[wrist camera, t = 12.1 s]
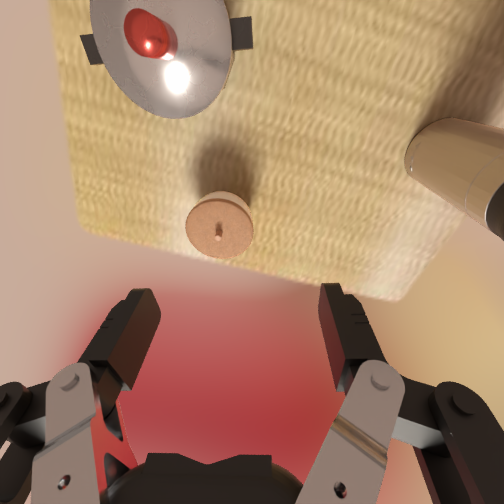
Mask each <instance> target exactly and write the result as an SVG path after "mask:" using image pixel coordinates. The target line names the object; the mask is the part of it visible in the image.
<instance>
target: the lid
mask: <svg viewBox="0 0 504 504" xmlns="http://www.w3.org/2000/svg"><path fill="white" fill-rule="evenodd" d="M90 17H91V25H92V30H93V35H94V39H95V42H96V46H97V48H98V51H99V54H100V56H101V59H102V61H103V63H104V65H105V67H106V69H107V70H108V72H109V74H110V75H111V77H112V78H113V80H114V81H115V83H116V84H117V85H118V87H119V88H120V89H121V90H122V91H123V92H124V94H125V95H126V96H128V97H129V98H130V99H131V100H132V101H133V102H134V103H136V104H137V105H138V106H140V107H141V108H143V109H144V110H146V111H148V112H150V113H152V114H155V115H157V116H161V117H164V118H170V119H181V118H187V117H190V116H194V115H196V114H198V113H200V112H201V111H203V110H204V109H206V108H207V107H208V106H209V105H211V104H212V103H213V102H214V100H215V99H216V98H217V97H218V95H219V94H220V92H221V90H222V89H223V87H224V84H225V82H226V80H227V77H228V73H229V70H230V64H231V58H232V34H231V26H230V21H229V16H228V12H227V9H226V6H225V3H224V0H90Z"/></svg>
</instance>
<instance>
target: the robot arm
mask: <svg viewBox="0 0 504 504" xmlns="http://www.w3.org/2000/svg"><path fill="white" fill-rule="evenodd" d="M405 168H406V171H407V173H408V174H409V175H410V176H411V177H412V178H414V179H415V180H416V181H418V182H419V183H421V184H422V185H424V186H425V187H426V188H428V189H429V190H431V191H432V192H434V193H435V194H437V195H438V196H440V197H441V198H443V199H444V200H446V201H447V202H449V203H450V204H451V205H453V206H454V207H456V208H457V209H459V210H460V211H462V212H463V213H465V214H466V215H468V216H469V217H471V218H472V219H474V220H475V221H477V222H478V223H480V224H481V225H483V226H484V227H486V228H487V229H488V230H490V231H492V232H493V233H494V234H496V235H497V236H499V237H500V238H501V239H502V240H503V241H504V129H503V128H498V127H494V126H489V125H485V124H480V123H476V122H472V121H467V120H462V119H457V118H445V119H441V120H438V121H436V122H434V123H431V124H430V125H428V126H427V127H425V128H424V129H423V130H422V131H421V132H420V133H418V134H417V136H416V137H415V138H414V139H413V140H412V142H411V144H410V145H409V147H408V150H407V152H406V156H405ZM318 313H319V320H320V324H321V328H322V332H323V337H324V340H325V345H326V349H327V354H328V358H329V362H330V366H331V371H332V375H333V379H334V384H335V388H336V391H338V392H339V391H340V392H341V391H344V392H345V395H346V398H345V400H344V402H343V405H342V406H341V409H340V411H339V413H338V415H337V417H336V419H335V420H334V422H333V424H332V426H331V428H330V430H329V432H328V434H327V436H326V439H325V440H324V443H323V445H322V447H321V449H320V451H319V454H318V455H317V458H316V460H315V462H314V464H313V466H312V468H311V470H310V473H309V475H308V477H307V479H306V481H305V483H304V485H303V484H302V483H301V482H300V481H299V480H298V479H297V478H296V477H295V476H294V475H293V474H292V473H290V472H289V471H288V470H286V469H284V468H283V467H281V466H279V465H277V464H274V463H272V457H271V455H237V456H234V457H231V458H228V459H225V460H222V461H219V462H216V463H212V464H207V465H206V464H203V463H200V462H198V461H195V460H193V459H190V458H188V457H185V456H183V455H180V454H177V453H148V455H147V458H146V462H145V463H143V464H141V465H138V463H137V460H136V458H135V455H134V453H133V451H132V450H131V448H130V445H129V442H128V438H127V434H126V430H125V425H124V421H123V417H122V413H121V408H120V404H119V400H118V399H117V398H118V395H119V393H120V391H127V390H128V391H131V390H132V387H133V385H134V383H135V380H136V378H137V375H138V373H139V371H140V368H141V366H142V363H143V361H144V359H145V356H146V354H147V351H148V349H149V347H150V344H151V342H152V339H153V337H154V334H155V332H156V330H157V327H158V325H159V322H160V318H161V311H160V308H159V306H158V303H157V301H156V299H155V297H154V295H153V292H152V290H151V289H149V288H144V289H132V290H131V291H130V292H129V294H128V296H127V297H126V299H125V300H121V301H120V302H119V303H118V304H117V305H116V306H114V307H113V308H112V309H111V311H110V312H109V314H108V316H107V317H106V320H105V321H104V322H103V323H102V325H101V326H100V329H99V330H98V331H97V333H96V334H95V336H94V337H93V339H92V340H91V342H90V344H89V345H88V347H87V348H86V350H85V351H84V353H83V354H82V356H81V358H80V359H79V361H78V362H77V363H74V364H71V365H69V366H67V367H65V368H64V369H62V370H61V371H60V372H58V373H57V374H56V375H55V376H54V377H53V379H52V380H51V381H48V382H44V383H41V384H38V385H35V386H32V387H28V388H26V387H25V386H23V385H22V384H21V383H19V382H10V383H6V384H4V385H2V386H0V449H1V447H2V445H3V444H4V443H5V441H6V440H7V441H9V442H11V444H10V446H9V447H8V449H7V450H6V452H5V453H4V455H3V457H2V458H1V460H0V504H24V503H25V501H26V499H27V497H28V495H29V493H30V491H31V504H376V501H377V498H378V494H379V491H380V487H381V484H382V480H383V477H384V473H385V470H386V465H387V451H388V447H389V443H390V440H391V438H394V439H397V440H400V441H402V442H405V443H407V444H410V445H412V446H413V448H414V451H415V454H416V457H417V460H418V463H419V465H420V468H421V471H422V474H423V477H424V480H425V482H426V485H427V488H428V490H429V494H430V496H431V499H432V502H433V504H504V431H503V430H502V428H501V426H500V425H499V423H498V422H497V420H496V418H495V417H494V415H493V414H492V412H491V411H490V409H489V407H488V406H487V404H486V403H485V402H484V401H483V399H482V398H481V397H480V396H479V395H478V394H476V393H475V392H473V391H472V390H471V389H469V388H468V387H466V386H464V385H461V384H459V383H456V382H450V381H449V382H442V383H440V384H439V385H438V386H437V387H434V386H430V385H427V384H424V383H420V382H417V381H414V380H411V379H408V378H406V377H404V376H402V375H400V374H399V373H398V372H397V371H396V370H395V369H394V368H393V367H392V366H390V365H389V364H388V363H387V361H386V359H385V357H384V356H383V353H382V351H381V348H380V346H379V344H378V341H377V339H376V337H375V335H374V332H373V330H372V328H371V325H370V324H369V321H368V318H367V316H366V315H365V312H364V309H363V307H362V305H361V303H360V302H359V301H358V300H357V299H356V298H355V297H354V296H353V295H352V294H345V295H344V293H343V291H342V288H341V286H340V284H339V283H322V284H321V289H320V298H319V305H318Z"/></svg>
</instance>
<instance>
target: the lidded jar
mask: <svg viewBox="0 0 504 504" xmlns="http://www.w3.org/2000/svg"><path fill="white" fill-rule="evenodd" d="M186 233H187V236H188V238H189V240H190V242H191V243H192V245H193V246H194V247H195V248H196V249H197V250H199V251H200V252H202V253H203V254H205V255H207V256H210V257H213V258H220V259H225V258H232V257H235V256H237V255H239V254H241V253H243V252H244V251H245V250H246V249H247V248H248V247H249V245H250V244H251V241H252V238H253V220H252V215H251V212H250V210H249V208H248V206H247V204H246V203H245V202H244V201H243V200H242V199H241V198H240V197H239V196H237V195H235V194H233V193H230V192H226V191H216V192H212V193H209V194H207V195H206V196H204V197H203V198H201V199H200V200H199V201H198V202H197V203H196V205H195V206H194V207H193V209H192V210H191V211H190V213H189V215H188V217H187V220H186Z"/></svg>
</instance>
